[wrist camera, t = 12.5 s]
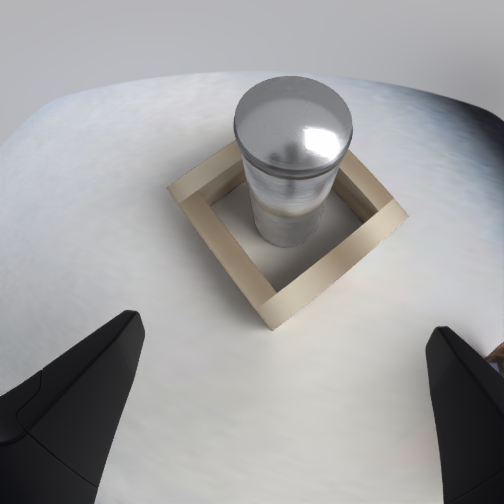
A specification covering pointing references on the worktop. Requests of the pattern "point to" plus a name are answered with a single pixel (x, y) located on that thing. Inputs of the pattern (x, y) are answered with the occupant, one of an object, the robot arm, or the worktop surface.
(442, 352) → the robot arm
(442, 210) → the worktop surface
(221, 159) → the collar
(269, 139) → the silver metal canister
